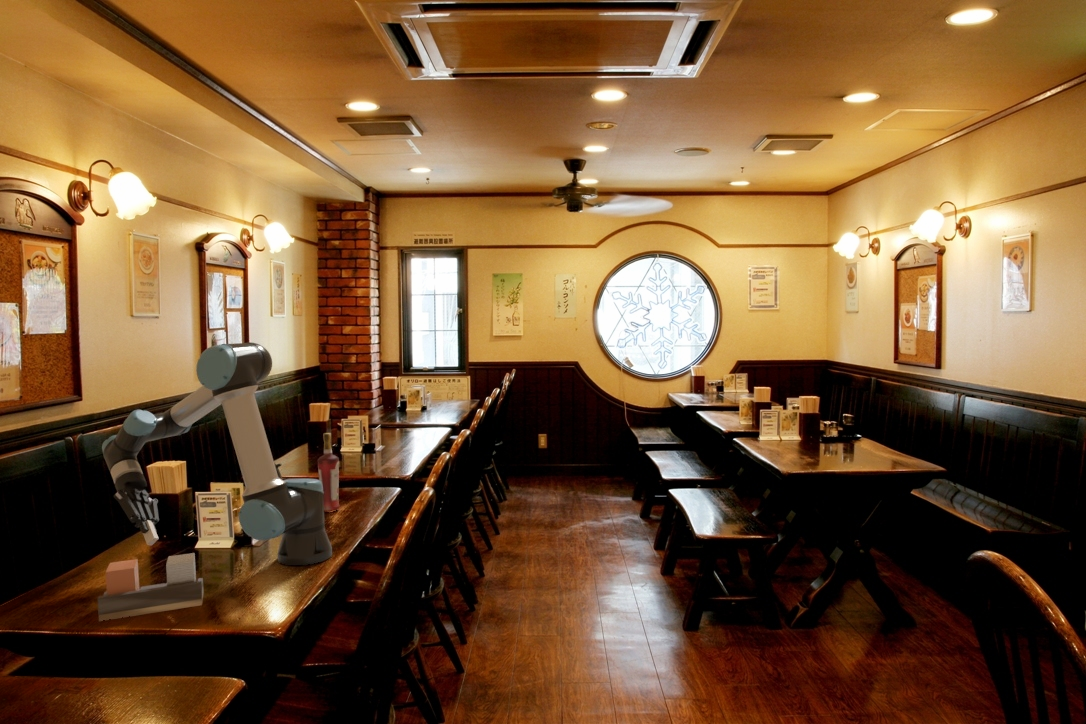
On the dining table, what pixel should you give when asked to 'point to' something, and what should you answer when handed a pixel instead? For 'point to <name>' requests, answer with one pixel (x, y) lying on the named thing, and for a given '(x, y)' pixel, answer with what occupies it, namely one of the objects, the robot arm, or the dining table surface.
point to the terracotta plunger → (122, 577)
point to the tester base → (150, 600)
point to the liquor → (329, 475)
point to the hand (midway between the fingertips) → (152, 541)
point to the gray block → (181, 569)
